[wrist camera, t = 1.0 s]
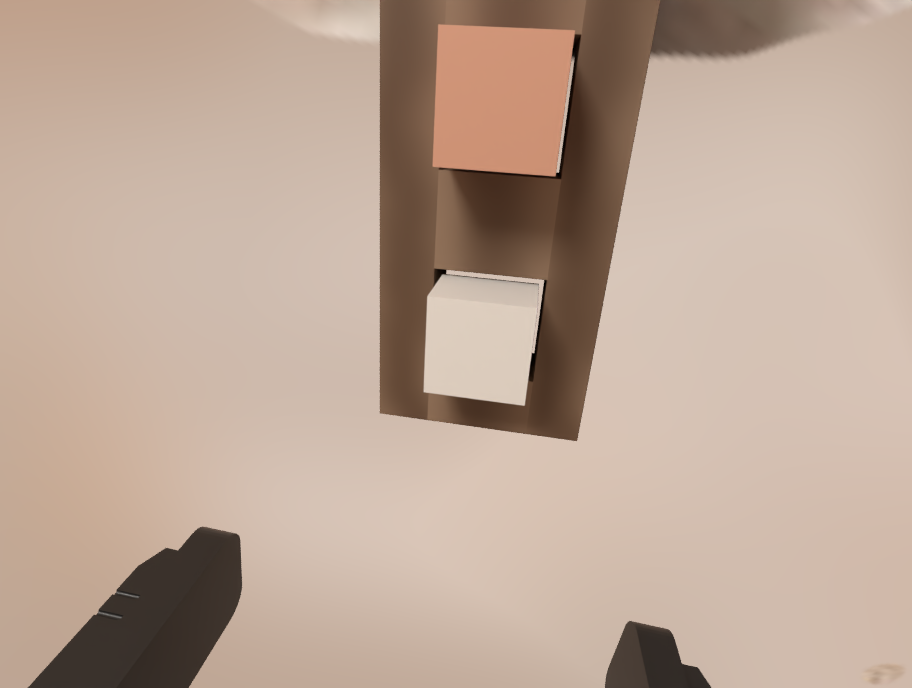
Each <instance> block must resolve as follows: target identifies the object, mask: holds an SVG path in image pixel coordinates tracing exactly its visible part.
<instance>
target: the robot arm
mask: <svg viewBox="0 0 912 688" xmlns="http://www.w3.org/2000/svg"><path fill="white" fill-rule="evenodd" d="M240 549H241V548H240V537H239V535H237V534H235V533H230V532H226V531H221V530H216V529H211V528H207V527H200V528H198V529H197V530H196V531H195V532H194V533H193V534H192V535H191V536H190V537H189V539H188V540H187V541H186V542H185V543H184V544H183V546H182V547H181V548H180V549H179V550H178V551H177V550H173V549H169V548H166V549H164V550H162V551H161V552H159V553H158V554H156V555H155V556H153V557H151V558H150V559H149V560H147V561H145V562H144V563H142V564H141V565H139V566H138V567H137V568H136V569H135V570H134V571H133V572H132V574H131V575H130V576H129V577H128V578H127V579H126V580H125V581H124V582H123V583H122V585H121V586H120V587H119V588H118V589H117V592H116V593H115V595H112V596H111V597H110V598H109V599H108V600H107V601H106V602H105V603H104V605H102V607H101V608H100V609H99V612H98V613H97V615H93V616H92V618H91V619H90V620H89V621H88V622H87V623H86V624H85V625H84V626H83V628H82V629H81V630H80V631H79V632H78V633H77V634H76V635H75V636H74V638H73V639H72V640H71V641H70V642H69V643H68V644H67V645H66V646H65V647H64V648H63V650H62V651H61V652H60V653H59V654H58V655H57V656H56V657H55V658H54V660H53V661H52V662H51V663H50V664H49V665H48V666H47V667H46V668H45V669H44V671H43V672H42V673H41V674H40V675H39V676H38V677H37V678H36V679H35V681H34V682H33V683H32V684H31V685H30V686H29V687H28V688H189V686H190V685H191V683H192V681H193V679H194V678H195V676H196V675H197V673H198V672H199V670H200V668H201V667H202V665H203V663H204V662H205V660H206V659H207V657H208V655H209V654H210V652H211V650H212V649H213V647H214V645H215V644H216V642H217V641H218V639H219V637H220V636H221V634H222V632H223V631H224V629H225V628H226V626H227V624H228V623H229V621H230V619H231V617H232V616H233V614H234V612H235V609H236V607H237V605H238V602H239V599H240V595H241V590H242V574H241V550H240ZM605 683H606V684H605V688H711V687H710V685H709V684H708V682H707V681H706V679H705V678H704V676H703V675H702V673H701V672H700V670H699V669H698V668H697V667H693V666H688V665H684V664H682V663H681V660H680V656H679V653H678V649H677V646H676V643H675V639H674V637H673V634H672V633H671V631H669V630H668V629H664V628H660V627H655V626H650V625H646V624H641V623H637V622H632V621H629V622H628V623H627V624H626V626H625V628H624V631H623V633H622V636H621V638H620V641H619V643H618V645H617V648H616V651H615V653H614V655H613V658H612V660H611V663H610V665H609V668H608V671H607V675H606V682H605Z"/></svg>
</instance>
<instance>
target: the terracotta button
mask: <svg viewBox="0 0 912 688" xmlns="http://www.w3.org/2000/svg"><path fill="white" fill-rule="evenodd" d="M574 35H575V30H557V29H534V28H510V27H487V26H464V25H440V24H438V43H437V68H436V93H435V118H434V143H433V167H441V168H454V169H467V170H480V171H493V172H505V173H518V174H531V175H544V176H556V169H557V160H558V154H559V146H560V139H561V131H562V123H563V116H564V109H565V102H566V94H567V87H568V79H569V72H570V64H571V57H572V50H573V42H574Z"/></svg>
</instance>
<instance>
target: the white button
mask: <svg viewBox="0 0 912 688" xmlns="http://www.w3.org/2000/svg"><path fill="white" fill-rule="evenodd" d="M538 288H539V284H534V283H524V282H515V281H506V280H496V279H486V278H477V277H467V276H458V275H447V274H442V276H441V277H440V279H439V280H438V282H437V283H436V284H435V286H434V287H433V289H432V290H431V292H430V293H429V294H428V296H427V317H426V342H425V367H424V392H426V393H433V394H441V395H448V396H456V397H463V398H471V399H478V400H485V401H493V402H500V403H508V404H515V405H522V406H525V399H526V392H527V384H528V377H529V369H530V362H531V355H532V347H533V340H534V332H535V324H536V317H537V309H538Z"/></svg>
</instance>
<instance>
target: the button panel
mask: <svg viewBox="0 0 912 688" xmlns="http://www.w3.org/2000/svg"><path fill="white" fill-rule="evenodd" d="M659 5H660V0H380V413H383V414H389V415H397V416H403V417H411V418H418V419H424V420H432V421H439V422H446V423H453V424H460V425H467V426H474V427H481V428H488V429H495V430H502V431H509V432H517V433H523V434H531V435H537V436H545V437H552V438H559V439H566V440H573V441H577V438H578V433H579V427H580V422H581V417H582V412H583V406H584V401H585V396H586V391H587V385H588V380H589V375H590V369H591V364H592V359H593V354H594V348H595V343H596V338H597V332H598V327H599V322H600V316H601V311H602V306H603V300H604V295H605V290H606V284H607V279H608V274H609V268H610V263H611V258H612V253H613V248H614V242H615V237H616V232H617V227H618V221H619V216H620V211H621V205H622V200H623V195H624V189H625V184H626V179H627V174H628V168H629V163H630V158H631V152H632V147H633V142H634V137H635V131H636V126H637V121H638V116H639V110H640V105H641V100H642V94H643V88H644V84H645V78H646V73H647V68H648V63H649V57H650V52H651V47H652V42H653V36H654V31H655V26H656V20H657V15H658V10H659ZM438 24H440V25H464V26H487V27H510V28H534V29H557V30H575V35H574V42H573V48H576V53H575V60H574V68H573V76H572V83H571V90H570V97H569V105H568V112H567V119H566V126H565V134H564V141H563V148H562V155H561V163H560V170H559V173H556V176H544V175H531V174H518V173H505V172H493V171H480V170H467V169H454V168H441V167H433V143H434V118H435V93H436V68H437V43H438ZM446 270H455V271H464V272H474V273H484V274H494V275H503V276H513V277H523V278H532V279H542V280H544V287H543V294H542V302H541V309H540V316H539V325H538V331H537V338H536V345H535V353H532V355H531V362H530V369H529V377H528V384H527V392H526V399H525V406H522V405H515V404H508V403H500V402H493V401H485V400H478V399H471V398H463V397H456V396H448V395H441V394H433V393H426V392H424V367H425V342H426V317H427V296H428V294H429V293H430V292H431V290H432V289H433V287H434V286H435V284H436V283H437V282H438V280H439V279H440V277H441V276H442V274H446Z"/></svg>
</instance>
